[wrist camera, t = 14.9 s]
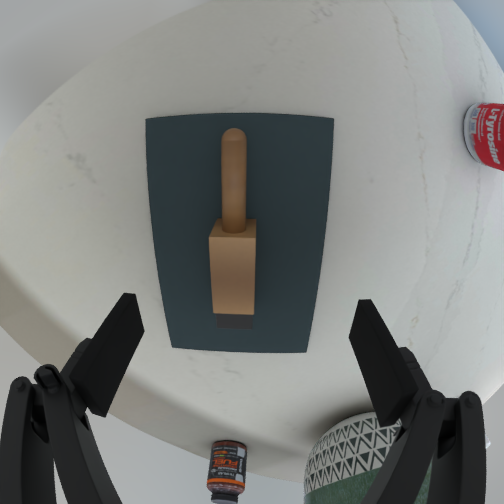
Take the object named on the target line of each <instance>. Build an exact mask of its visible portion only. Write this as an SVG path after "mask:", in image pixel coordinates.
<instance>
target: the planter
mask: <svg viewBox="0 0 504 504" xmlns="http://www.w3.org/2000/svg"><path fill="white" fill-rule="evenodd" d="M400 426H401V421H400V418H399V419H398V421H397V422H396V423H395V425H392V426H387V427H382V428H380V426H379V423H378V420H377V417H376V414H375V412H369V413H363V414H359V415H355V416H352V417H350V418H347V419H345V420H343V421H341V422H339V423H338V424H336V425H335V426H333V427H332V428H331V429H329V430H328V431H327V432H326V433H325V434H324V435H323V436H322V437H321V438H320V439H319V441H318V442H317V443H316V444H315V446H314V447H313V449H312V451H311V453H310V455H309V458H308V461H307V465H306V469H305V475H304V504H360V503H361V501H362V500H363V498H364V497H365V495H366V493H367V492H368V490H369V488H370V486H371V485H372V483H373V481H374V479H375V477H376V476H377V474H378V472H379V470H380V468H381V466H382V464H383V462H384V460H385V458H386V456H387V454H388V452H389V450H390V447H391V445H392V443H393V441H394V439H395V436H396V435H395V436H393V435H394V433H395V432H396V431H397V429H398V428H399V427H400ZM431 467H432V460H431V462H430V465H429V468H428V471H427V474H426V476H425V479H424V481H423V484H422V486H421V489H420V491H419V493H418V496H417V498H416V500H415V502H414V504H426V502H427V497H428V491H429V484H430V476H431Z"/></svg>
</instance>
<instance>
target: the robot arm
mask: <svg viewBox="0 0 504 504" xmlns="http://www.w3.org/2000/svg"><path fill="white" fill-rule="evenodd" d="M144 332H145V331H144V327H143V323H142V319H141V315H140V311H139V307H138V303H137V298H136V294H131V293H123V295H122V296H121V298H120V299H119V300H118V302H117V303H116V305H115V306H114V307H113V309H112V310H111V312H110V313H109V315H108V316H107V317H106V319H105V320H104V322H103V323H102V325H101V326H100V328H99V329H98V331H97V332H96V334H95V335H94V337H93V338H92V339H90V338H86V339H85V340H83V341H82V342H81V343H79V345H78V346H77V348H76V349H75V352H73V354H72V355H71V357H70V358H69V360H68V361H67V363H66V364H65V366H64V368H63V369H62V371H61V372H60V373H59V371H58V370H57V368H56V367H55V366H54V365H51V364H45V365H43V366H40V367H39V368H38V369H37V370H36V372H35V374H34V379H35V380H36V382H37V384H32V383H31V382H30V380H29V379H28V378H27V377H23V376H22V377H18V378H16V379H15V380H14V381H13V382H12V384H11V386H10V390H9V394H8V399H7V403H6V409H5V414H4V419H3V425H2V433H1V440H0V504H57V503H56V493H55V481H54V461H55V464H56V468H57V472H58V476H59V479H60V482H61V485H62V488H63V491H64V494H65V497H66V500H67V502H68V504H122V502H121V500H120V498H119V496H118V494H117V492H116V490H115V488H114V486H113V484H112V481H111V479H110V477H109V475H108V472H107V470H106V467H105V465H104V463H103V460H102V458H101V455H100V452H99V450H98V447H97V445H96V441H95V439H94V436H93V433H92V430H91V427H90V423H89V420H88V417H87V415H86V413H85V411H86V409H87V407H88V408H89V409H90V411H91V413H92V414H95V415H98V416H102V417H106V415H107V413H108V410H109V408H110V405H111V403H112V401H113V398H114V396H115V394H116V392H117V389H118V387H119V385H120V383H121V380H122V378H123V376H124V374H125V372H126V369H127V367H128V365H129V363H130V361H131V359H132V357H133V354H134V352H135V350H136V348H137V346H138V344H139V342H140V340H141V338H142V336H143V334H144ZM349 340H350V342H351V345H352V348H353V350H354V353H355V356H356V358H357V361H358V364H359V367H360V369H361V372H362V375H363V378H364V381H365V384H366V387H367V389H368V392H369V395H370V398H371V401H372V404H373V407H374V410H375V414H376V417H377V420H378V423H379V426H380V428H382V427H387V426H392V425H395V423H396V422H397V421H398V419H399V418H400V421H401V426H400V427H399V428H398V429H397V431H396V432H395V433H394V435H393V436H395V435H396V436H395V439H394V441H393V443H392V445H391V447H390V450H389V452H388V454H387V456H386V458H385V460H384V462H383V464H382V466H381V468H380V470H379V472H378V474H377V476H376V477H375V479H374V481H373V483H372V485H371V486H370V488H369V490H368V492H367V493H366V495H365V497H364V498H363V500H362V501H361V503H360V504H414V502H415V500H416V498H417V496H418V493H419V491H420V489H421V486H422V484H423V481H424V479H425V476H426V474H427V471H428V468H429V465H430V462H431V460H432V467H431V476H430V484H429V491H428V497H427V502H426V504H485V493H486V442H485V429H484V419H483V411H482V404H481V400H480V398H479V396H478V395H477V394H476V393H474V392H471V391H465V392H464V393H462V395H461V396H460V397H459V398H445V396H444V395H443V394H442V393H441V392H439V391H437V390H433V389H432V388H431V386H430V384H429V382H428V380H427V378H426V376H425V374H424V373H423V371H422V369H421V368H420V365H419V363H418V362H417V360H416V358H415V356H414V354H413V353H412V352H411V351H410V350H409V349H408V348H406V347H401V348H398V346H397V345H396V343H395V341H394V339H393V337H392V335H391V334H390V332H389V330H388V328H387V326H386V325H385V323H384V321H383V319H382V318H381V316H380V314H379V312H378V311H377V309H376V307H375V305H374V304H373V302H372V300H371V299H364V300H358V304H357V308H356V312H355V316H354V320H353V323H352V327H351V330H350V334H349Z"/></svg>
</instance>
